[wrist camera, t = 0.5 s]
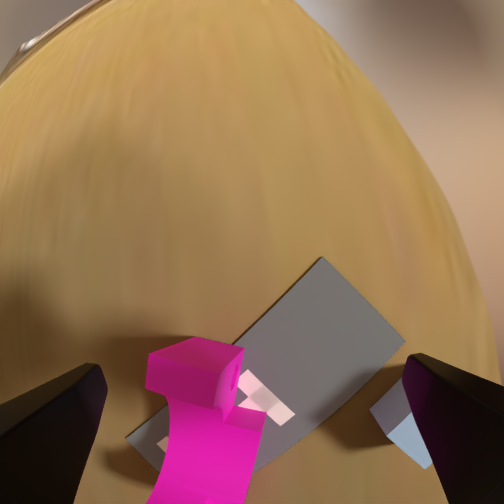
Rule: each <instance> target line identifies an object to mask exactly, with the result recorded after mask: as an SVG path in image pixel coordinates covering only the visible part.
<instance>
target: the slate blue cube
mask: <svg viewBox="0 0 504 504" xmlns="http://www.w3.org/2000/svg"><path fill="white" fill-rule="evenodd" d="M369 410H370V412H371V413H372V415H373V416H374V418H375V419H376V421H377V422H378V424H379V425H380V427H381V429H382V430H383V432H384V433H385V435H386V436H387V437H388V438H389V439H390V440H391V441H393V442H394V443H395V444H396V445H397V446H398V447H399V448H401V449H402V450H403V451H404V452H405V453H406V454H408V455H409V456H410V457H411V458H412V459H413V460H415V461H416V462H417V463H418V464H419V465H420V466H422V467H423V468H424V469H426V468H427V467H428V466H429V465H430V464H432V463H433V462H432V460H431V457H430V455H429V453H428V450H427V448H426V446H425V443H424V441H423V439H422V437H421V434H420V432H419V430H418V428H417V425H416V423H415V420H414V418H413V415H412V412H411V408H410V405H409V402H408V400H407V397H406V394H405V391H404V388H403V385H402V377H401V378H400V379H399V380H398V381H397V382H396V383H395V385H394V386H393V387H392V388H391V389H390V390H389V391H388V392H387V393H386V394H385V395H384V396H383V397H382V398H381V399H380V400H378V401H377V402H376V403H375V404H374V405H373V406H372V407H371V408H370V409H369Z"/></svg>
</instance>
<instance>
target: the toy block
mask: <svg viewBox="0 0 504 504" xmlns="http://www.w3.org/2000/svg"><path fill="white" fill-rule="evenodd" d="M244 349H245V348H244V347H239V346H235V345H230V344H225V343H221V342H217V341H212V340H208V339H204V338H200V337H196V336H195V337H193V338H190V339H187V340H185V341H182V342H179V343H177V344H174V345H171V346H168V347H166V348H163V349H160V350H157V351H154V352H151V353H149V357H148V365H147V374H146V383H145V389H148V390H150V391H153V392H156V393H159V394H162V395H165V397H166V399H167V402H168V406H169V412H170V430H169V439H168V445H167V450H166V455H165V459H164V462H163V466H162V469H161V472H160V475H159V477H158V480H157V482H156V485H155V487H154V489H153V491H152V493H151V495H150V497H149V499H148V501H147V503H146V504H244V502H245V498H246V494H247V491H248V487H249V483H250V479H251V476H252V472H253V468H254V464H255V460H256V456H257V452H258V448H259V444H260V440H261V435H262V431H263V427H264V423H265V418H266V414H267V412H263V411H258V410H253V409H249V408H244V407H239V406H235V405H234V402H235V397H236V392H237V387H238V381H239V376H240V371H241V365H242V360H243V355H244Z"/></svg>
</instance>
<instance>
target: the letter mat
mask: <svg viewBox="0 0 504 504" xmlns="http://www.w3.org/2000/svg"><path fill="white" fill-rule="evenodd" d="M404 343H405V340H404V339H403V338H402V337H401V335H400V334H399V333H398V332H397V331H396V330H395V329H394V328H393V327H392V326H391V325H390V324H389V323H388V322H387V321H386V320H385V319H384V318H383V317H382V315H381V314H380V313H379V312H378V311H377V310H376V309H375V308H374V307H373V306H372V305H371V304H370V303H369V302H368V301H367V300H366V299H365V298H364V297H363V296H362V295H361V294H360V293H359V292H358V291H357V290H356V289H355V288H354V287H353V286H352V285H351V284H350V283H349V282H348V281H347V280H346V279H345V278H344V277H343V276H342V275H341V274H340V273H339V272H338V271H337V270H336V269H335V268H334V267H333V266H332V265H331V264H330V263H329V262H328V261H327V260H326V259H325V258H324V257H322V258H321V259H320V260H319V261H318V262H317V263H316V264H315V265H314V266H313V267H312V268H311V269H310V270H309V271H308V272H307V273H306V274H305V275H304V276H303V277H302V279H301V280H300V281H299V282H298V283H297V284H296V285H295V286H294V287H293V288H292V289H291V290H290V291H289V292H288V293H287V294H286V295H285V296H284V297H283V298H282V299H281V300H280V301H279V302H278V303H277V304H276V305H275V306H274V307H273V308H272V309H271V310H270V311H269V312H267V313H266V314H265V315H264V316H263V317H262V318H261V319H260V320H259V321H258V322H257V323H256V324H255V325H254V326H253V327H252V328H251V329H250V330H249V331H248V332H247V333H246V334H245V335H244V336H243V337H242V338H240V339H239V340H238V341H237V342H236V343H235V344H234V345H235V346H239V347H244V348H245V349H244V355H243V360H242V365H241V371H240V376H239V381H238V387H237V392H236V397H235V402H234V405H235V406H239V407H244V408H249V409H253V410H258V411H263V412H267V414H266V418H265V423H264V427H263V431H262V435H261V440H260V444H259V448H258V452H257V456H256V460H255V464H254V468H253V472H252V473H254V472H256V471H257V470H259V469H260V468H262V467H263V466H265V465H266V464H268V463H269V462H271V461H272V460H274V459H275V458H276V457H278V456H279V455H281V454H282V453H284V452H285V451H286V450H288V449H289V448H290V447H292V446H293V445H294V444H296V443H297V442H298V441H300V440H301V439H302V438H304V437H305V436H306V435H308V434H309V433H310V432H311V431H313V430H314V429H315V428H316V427H318V426H319V425H320V424H321V423H322V422H324V421H325V420H326V419H327V418H328V417H330V416H331V415H332V414H333V413H334V412H335V411H336V410H338V409H339V408H340V407H341V406H342V405H343V404H344V403H345V402H347V401H348V400H349V399H350V398H351V397H352V396H353V395H354V394H355V393H356V392H357V391H358V390H359V389H360V388H362V387H363V386H364V385H365V384H366V383H367V382H368V381H369V380H370V379H371V378H372V377H373V376H374V375H375V374H376V373H377V372H378V371H379V370H380V369H381V368H382V367H383V365H384V364H385V363H386V362H387V361H388V360H389V359H390V358H391V357H392V356H393V355H394V354H395V353H396V352H397V350H398V349H399V348H400V347H401V346H402V345H403V344H404ZM169 430H170V412H169V406H168V404H167V405H166V406H165V407H164V408H163V409H161V410H160V411H159V412H158V413H157V414H155V415H154V416H153V417H152V418H151V419H149V420H148V421H147V422H146V423H145V424H143V425H142V426H141V427H140V428H139V429H137V430H136V431H135V432H134V433H132V434H131V435H130V436H129V437H127V438H126V440H127V441H128V442H129V443H130V444H131V445H132V446H133V447H134V448H135V449H136V450H137V451H138V452H139V453H140V454H141V455H142V456H143V457H144V458H145V459H146V460H147V461H148V462H149V463H150V464H151V465H152V466H153V467H154V468H155V469H156V470H157V471H158V472H159V473H160V472H161V469H162V466H163V462H164V459H165V455H166V450H167V445H168V439H169Z"/></svg>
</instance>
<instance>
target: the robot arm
mask: <svg viewBox="0 0 504 504" xmlns="http://www.w3.org/2000/svg"><path fill="white" fill-rule="evenodd" d="M402 385H403V388H404V391H405V394H406V397H407V400H408V402H409V405H410V408H411V412H412V415H413V418H414V420H415V423H416V425H417V428H418V430H419V432H420V434H421V437H422V439H423V441H424V443H425V446H426V448H427V450H428V453H429V455H430V457H431V460H432V462H433V465H434V467H435V469H436V472H437V474H438V477H439V479H440V482H441V484H442V487H443V489H444V492H445V495H446V497H447V500H448V503H449V504H504V386H502V385H499V384H496V383H494V382H491V381H489V380H486V379H484V378H481V377H479V376H476V375H474V374H471V373H469V372H466V371H464V370H461V369H459V368H457V367H454V366H452V365H449V364H447V363H444V362H442V361H440V360H437V359H435V358H432V357H430V356H428V355H425V354H423V353H416V354H411V355H409V356H408V358H407V361H406V364H405V368H404V371H403V375H402ZM107 392H108V388H107V384H106V381H105V378H104V375H103V372H102V369H101V367H100V365H98V364H94V363H85V364H83V365H81V366H79V367H77V368H75V369H73V370H71V371H69V372H67V373H65V374H63V375H61V376H59V377H57V378H55V379H53V380H51V381H49V382H47V383H45V384H43V385H41V386H38V387H36V388H34V389H32V390H30V391H28V392H26V393H24V394H22V395H20V396H18V397H16V398H14V399H11V400H9V401H7V402H5V403H3V404H1V405H0V504H73V503H74V499H75V496H76V493H77V490H78V486H79V483H80V480H81V477H82V474H83V471H84V468H85V465H86V462H87V459H88V457H89V454H90V451H91V448H92V445H93V443H94V440H95V437H96V434H97V431H98V427H99V423H100V419H101V415H102V411H103V408H104V404H105V400H106V396H107Z"/></svg>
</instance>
